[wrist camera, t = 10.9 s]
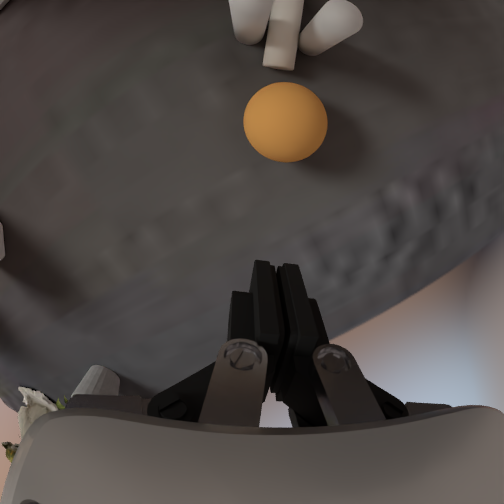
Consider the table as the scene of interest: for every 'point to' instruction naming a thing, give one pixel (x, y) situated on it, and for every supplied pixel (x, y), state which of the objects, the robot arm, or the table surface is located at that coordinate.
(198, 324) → the table surface
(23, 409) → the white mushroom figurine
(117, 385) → the house plant
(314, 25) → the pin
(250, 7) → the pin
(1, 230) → the jar
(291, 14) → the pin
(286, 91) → the ball
